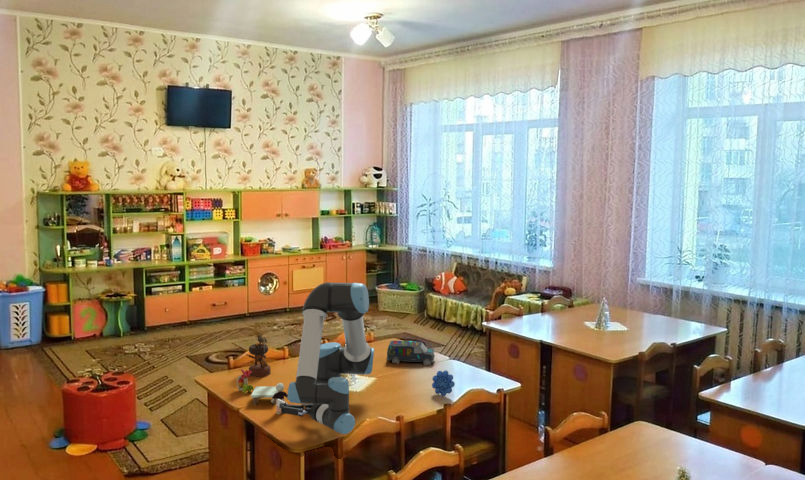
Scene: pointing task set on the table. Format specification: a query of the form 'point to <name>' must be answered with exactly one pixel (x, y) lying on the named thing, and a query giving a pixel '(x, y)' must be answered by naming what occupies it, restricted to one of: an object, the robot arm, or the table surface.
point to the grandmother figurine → (279, 396)
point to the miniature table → (264, 393)
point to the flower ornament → (244, 382)
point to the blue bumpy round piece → (443, 383)
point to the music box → (259, 358)
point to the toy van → (410, 352)
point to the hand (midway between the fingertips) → (292, 398)
